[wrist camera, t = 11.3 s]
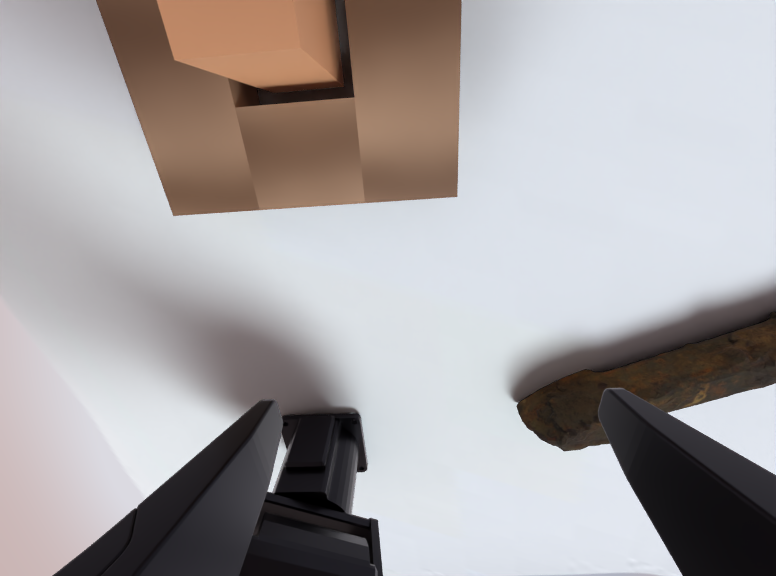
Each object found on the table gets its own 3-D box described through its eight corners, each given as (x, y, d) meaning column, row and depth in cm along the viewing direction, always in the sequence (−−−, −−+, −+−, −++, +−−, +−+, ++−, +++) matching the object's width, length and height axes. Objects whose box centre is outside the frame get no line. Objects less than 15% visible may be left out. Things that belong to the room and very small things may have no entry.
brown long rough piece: (803, 289, 20) (908, 329, 16) (796, 338, 22) (891, 387, 18) (505, 374, 24) (528, 424, 20) (518, 411, 25) (541, 465, 21)
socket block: (448, 187, 18) (457, 196, 15) (205, 204, 19) (173, 215, 16) (451, -204, 12) (468, -304, 9) (94, -156, 13) (11, -235, 10)
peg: (344, 86, 16) (300, 47, 9) (273, 93, 16) (174, 60, 9) (333, -7, 14) (270, -147, 7) (255, 1, 15) (118, -127, 7)
